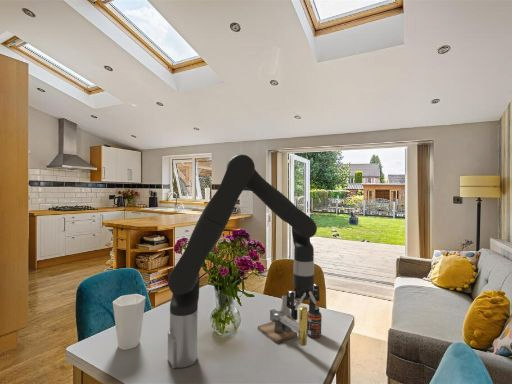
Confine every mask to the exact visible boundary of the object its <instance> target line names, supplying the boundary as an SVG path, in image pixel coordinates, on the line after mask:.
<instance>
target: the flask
mask: <svg viewBox="0 0 512 384" xmlns="http://www.w3.org/2000/svg"><path fill="white" fill-rule="evenodd" d="M281 299H282V300H281V306H280V309H279V311H281V312H284V313H285V315H289V316H290V317H291V309H290V308H288V307H287V306H286V305H287V295H282V296H281ZM291 320H293V319H292V317H291Z"/></svg>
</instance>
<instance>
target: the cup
mask: <svg viewBox="0 0 512 384" xmlns="http://www.w3.org/2000/svg"><path fill="white" fill-rule="evenodd" d="M145 305H146V296H145V295H141V294H139V293H133V294H126V295H125V294H124V295H121V296H119V297H117V298H116V299H115V300H113V301H112V306H113V308H112V309H113V315H114V316H113V317H114V324H115V332H116V338H117V341H116V342H117V345H118V348H119V349H120V350H122V351H126V350H130V349H131V350H132V349H135V348H136V347H137V346H138V345H140V343H141V336H142V335H141V334H142V329H143V328H142V327H143V321H144V312H145Z"/></svg>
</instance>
